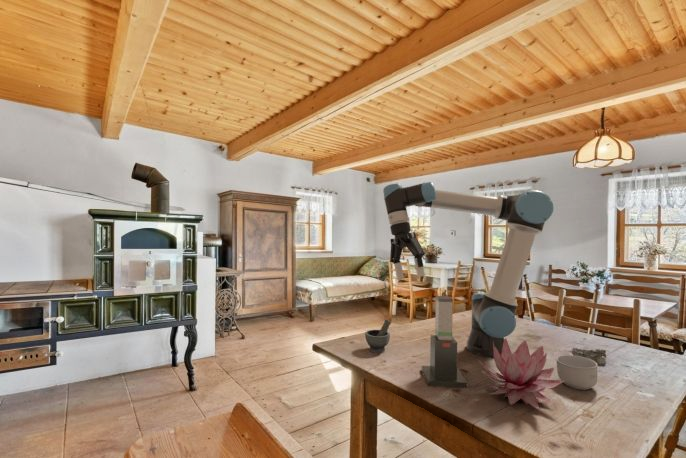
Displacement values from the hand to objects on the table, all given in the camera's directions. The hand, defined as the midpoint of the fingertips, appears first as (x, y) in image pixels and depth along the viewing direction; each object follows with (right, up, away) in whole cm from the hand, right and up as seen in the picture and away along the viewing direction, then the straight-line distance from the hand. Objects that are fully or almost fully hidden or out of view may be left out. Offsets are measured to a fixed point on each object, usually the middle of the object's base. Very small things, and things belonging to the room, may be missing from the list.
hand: (410, 277), depth 127 cm
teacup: (+49, -31, -19) cm, 61 cm away
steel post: (+7, -24, -17) cm, 30 cm away
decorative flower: (+26, -31, -29) cm, 50 cm away
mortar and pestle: (-11, -30, +8) cm, 34 cm away
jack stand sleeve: (+7, -30, -17) cm, 36 cm away
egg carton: (+69, -32, +1) cm, 76 cm away
